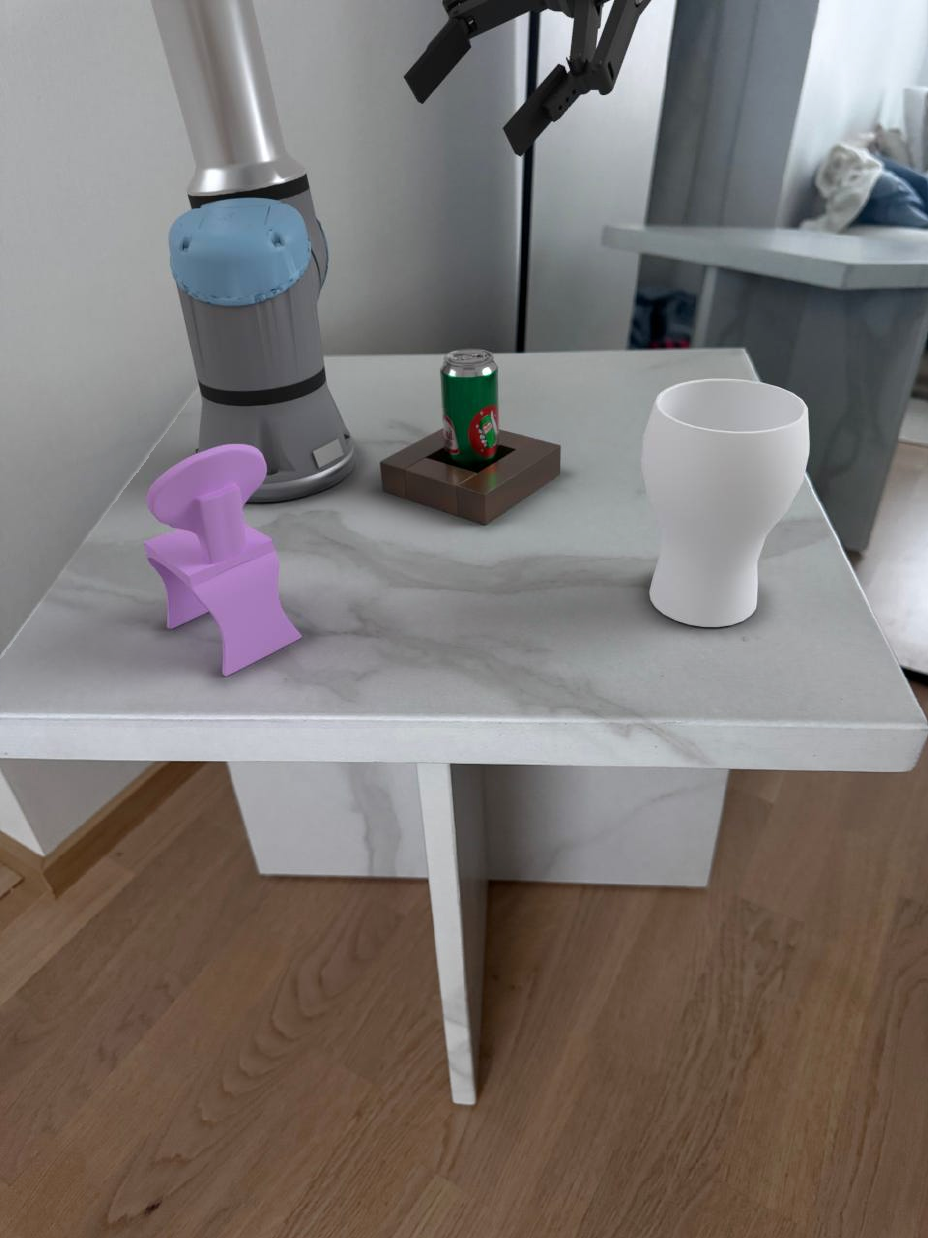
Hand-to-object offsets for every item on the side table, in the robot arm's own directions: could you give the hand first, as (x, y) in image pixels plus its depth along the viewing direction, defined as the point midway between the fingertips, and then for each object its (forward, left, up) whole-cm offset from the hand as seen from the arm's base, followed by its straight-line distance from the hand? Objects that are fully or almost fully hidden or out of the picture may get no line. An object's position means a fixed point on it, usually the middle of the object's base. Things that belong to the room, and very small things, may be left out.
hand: (459, 115), depth 73 cm
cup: (+32, -14, -29) cm, 46 cm away
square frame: (+6, -8, -29) cm, 31 cm away
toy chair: (+6, -37, -29) cm, 47 cm away
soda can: (+6, -8, -29) cm, 31 cm away
